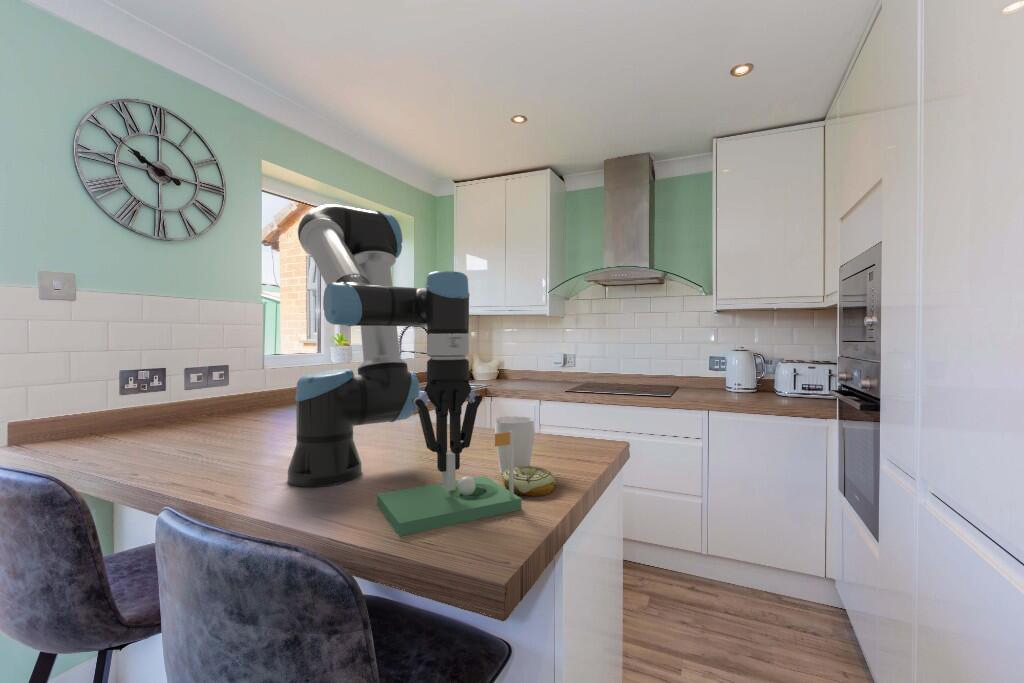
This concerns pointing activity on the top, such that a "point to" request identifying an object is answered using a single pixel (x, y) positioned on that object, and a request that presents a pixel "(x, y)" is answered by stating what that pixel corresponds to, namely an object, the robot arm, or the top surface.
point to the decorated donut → (530, 481)
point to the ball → (466, 485)
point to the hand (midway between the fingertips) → (448, 488)
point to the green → (450, 501)
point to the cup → (515, 441)
